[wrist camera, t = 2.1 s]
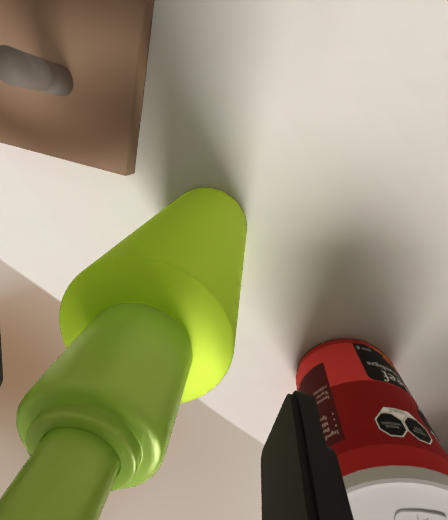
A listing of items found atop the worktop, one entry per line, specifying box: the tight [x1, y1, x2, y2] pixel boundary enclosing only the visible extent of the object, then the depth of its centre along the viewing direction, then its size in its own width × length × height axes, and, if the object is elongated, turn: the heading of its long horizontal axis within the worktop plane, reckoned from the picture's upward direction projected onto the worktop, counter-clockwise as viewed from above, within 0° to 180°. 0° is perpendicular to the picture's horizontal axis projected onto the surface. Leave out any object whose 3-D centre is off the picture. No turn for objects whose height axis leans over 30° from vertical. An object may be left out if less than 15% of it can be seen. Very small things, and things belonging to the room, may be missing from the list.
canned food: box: [296, 339, 448, 520], centre depth 20 cm, size 8×8×11 cm
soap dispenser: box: [0, 187, 247, 520], centre depth 13 cm, size 6×7×20 cm
